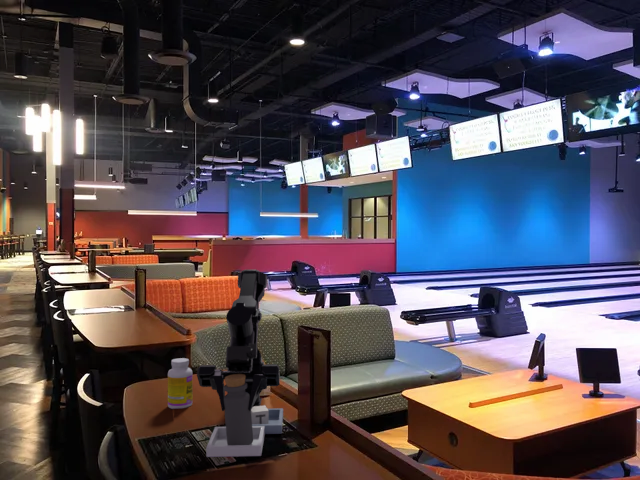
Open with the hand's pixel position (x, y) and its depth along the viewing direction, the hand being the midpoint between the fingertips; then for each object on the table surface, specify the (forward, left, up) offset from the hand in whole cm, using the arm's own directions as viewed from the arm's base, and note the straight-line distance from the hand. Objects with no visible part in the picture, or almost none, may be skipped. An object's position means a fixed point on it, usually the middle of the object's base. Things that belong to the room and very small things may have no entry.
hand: (236, 410), depth 116 cm
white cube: (-13, +4, -8) cm, 16 cm away
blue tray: (-13, +4, -9) cm, 16 cm away
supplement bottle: (-29, -19, -9) cm, 36 cm away
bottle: (-1, +1, -8) cm, 8 cm away
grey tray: (-1, 0, -9) cm, 9 cm away
